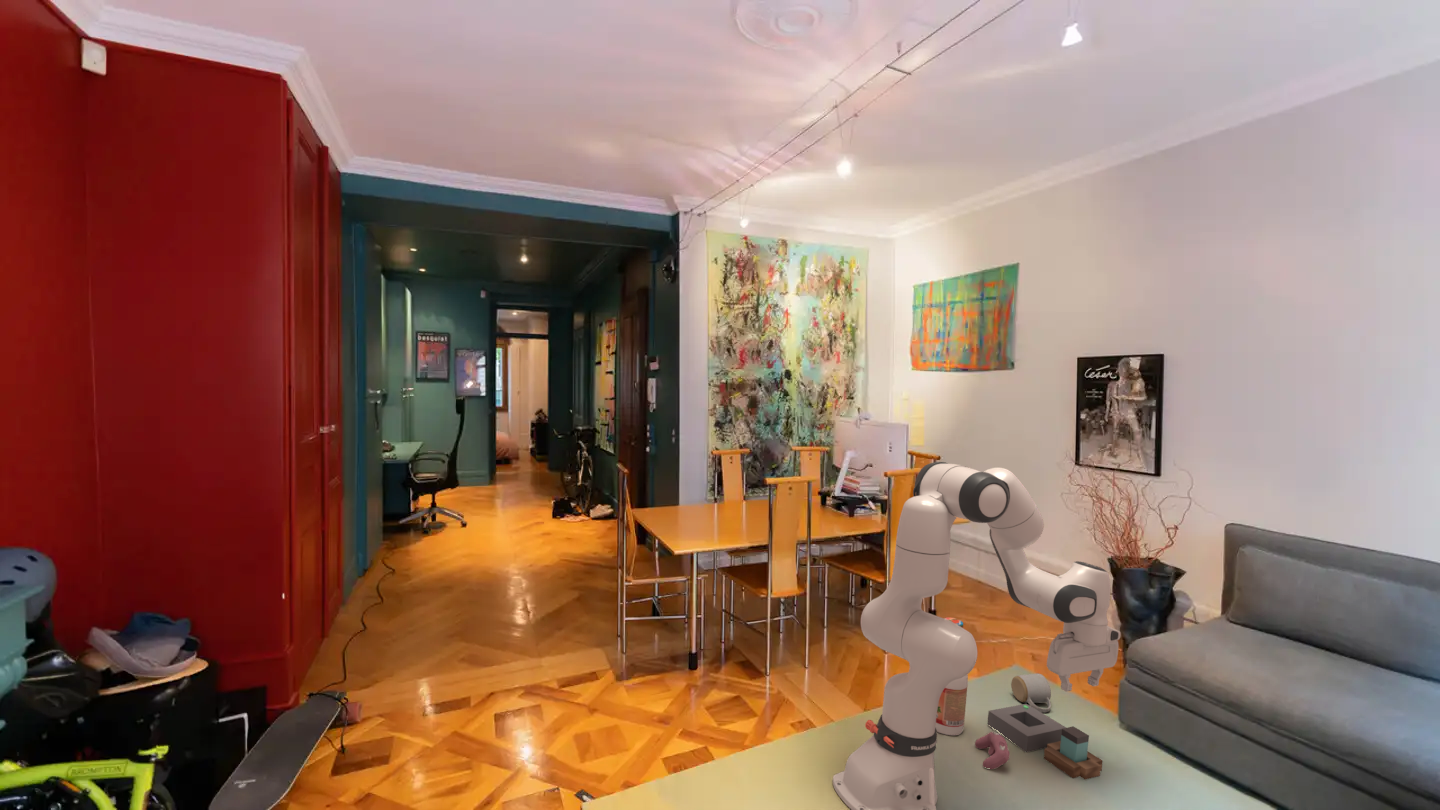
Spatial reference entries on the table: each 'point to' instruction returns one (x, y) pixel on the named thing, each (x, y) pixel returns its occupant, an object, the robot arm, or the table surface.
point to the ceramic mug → (1032, 690)
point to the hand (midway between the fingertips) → (1079, 687)
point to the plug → (1074, 744)
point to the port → (1025, 726)
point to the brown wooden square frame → (1073, 763)
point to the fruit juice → (952, 703)
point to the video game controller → (994, 749)
